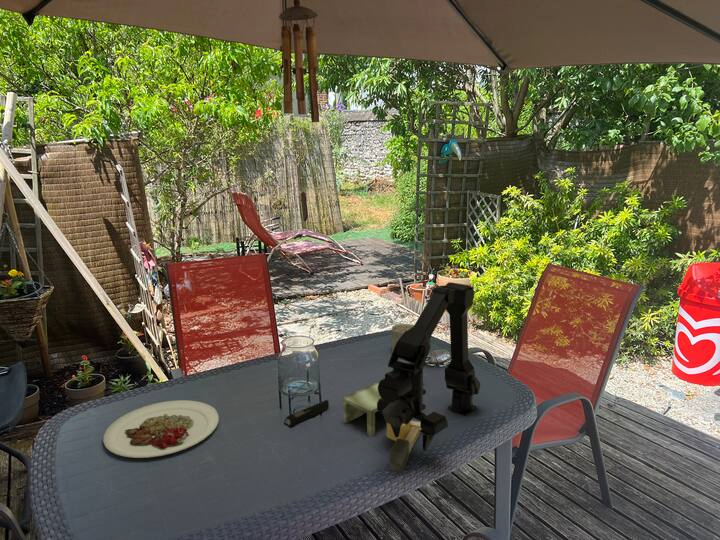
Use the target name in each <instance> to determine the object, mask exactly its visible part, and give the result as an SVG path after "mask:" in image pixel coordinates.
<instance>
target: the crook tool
mask: <svg viewBox="0 0 720 540" xmlns="http://www.w3.org/2000/svg"><path fill="white" fill-rule="evenodd" d="M420 423H421V421H417V420H416V421H415V420H411V421H410V432H409V434H408V435H407V437H406V439H405V440H402V439H397V440H396V441H395V442H394V444H393V445H392V447H391V449H390V450H389V470H390V471H394V472H398V473H403V470H404V469H405V467H406V465H407V463H408V462H409V460H410V453H411V451H412V449H414V446H415V444H416V443H417V440H418V438H419V436H420V435H421V434H422V433H421V432H420V430H422V429H421V427H420Z"/></svg>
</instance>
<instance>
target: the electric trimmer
mask: <svg viewBox="0 0 720 540" xmlns="http://www.w3.org/2000/svg"><path fill="white" fill-rule="evenodd" d="M320 402H321V404H320ZM320 402H318V403H316V404H314V405H312V406H311V405H310V406H309V407H308V406H307V408H304V409H301V410H299V411H296V412H294V413H290V414H289V415H288V416H286V417H285V418H284V422H283V425H284V426H286V427H288V428H294V427H295V426H296V424H298V423H300V422H302V421H304V420H306V419H308V418H310V417H312V418H313V417H316V416H318V415H319V414H321V413H322V412H324V411H325V410H327V409H329V406H330V404H329V403H330V401H329V400H328V399H325V400H323V401H320Z"/></svg>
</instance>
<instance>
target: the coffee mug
mask: <svg viewBox="0 0 720 540" xmlns="http://www.w3.org/2000/svg"><path fill="white" fill-rule="evenodd" d="M414 325H415V324H411V323H397V324H393V325H392V327H391V354H392V353H393V350H394V347H395V344H396V342H397V341H398V340H399V338H400V337H401V336H402V334H403V333H404V332H405V331H407V330H409V329H411V328H412V327H413V326H414Z"/></svg>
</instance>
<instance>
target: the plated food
mask: <svg viewBox="0 0 720 540" xmlns="http://www.w3.org/2000/svg"><path fill="white" fill-rule="evenodd" d="M219 419H220V416H219V414H218V411H217V410H216V408H214V406H211V405H209V404H207V403H204V402H202V401H197V400H186V399H184V400H183V399H182V400H181V399H179V400H169V401H168V400H167V401H161V402H156V403H152V404H148V405H144V406H143V407H142V406H141V407H139V408H136V409H134V410H132V411H129V412H128V413H125V414H123V415H122V416H121V417H119V418H117V419H116V420H115V421H114V422H112V423H111V424H110V425H109V426H108V427H107V429H106V430H105V432H104V434H103V440H102V441H103V444H104V447H105V448H106V449H107V450H108V451H109V452H110V453H113V454H114V455H117V456H121V457H125V458H131V459H132V458H135V459H144V458H147V459H148V458H154V457H162V456H166V455H170V454H174V453H177V452H180V451H184V450H186V449H188V448H191V447H192V446H195V445H197V444H199V443H200V442H201V441H203V440H205V439H206V438H208V437H209V436H210V435H211V434H212V433H213V432H214V431H215V429H217V426H218V425H219Z"/></svg>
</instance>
